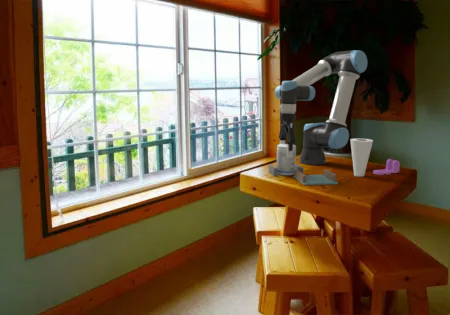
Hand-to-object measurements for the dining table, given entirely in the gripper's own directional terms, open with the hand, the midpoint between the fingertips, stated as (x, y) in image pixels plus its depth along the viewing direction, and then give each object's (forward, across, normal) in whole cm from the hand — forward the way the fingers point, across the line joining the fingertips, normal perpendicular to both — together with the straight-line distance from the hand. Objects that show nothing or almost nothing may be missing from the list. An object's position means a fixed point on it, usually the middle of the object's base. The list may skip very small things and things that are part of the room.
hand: (285, 155), depth 197 cm
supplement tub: (+10, 0, 0) cm, 10 cm away
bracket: (+9, +3, +52) cm, 53 cm away
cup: (+9, +7, +36) cm, 38 cm away
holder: (+10, 0, 0) cm, 10 cm away
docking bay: (+10, +15, +10) cm, 21 cm away
